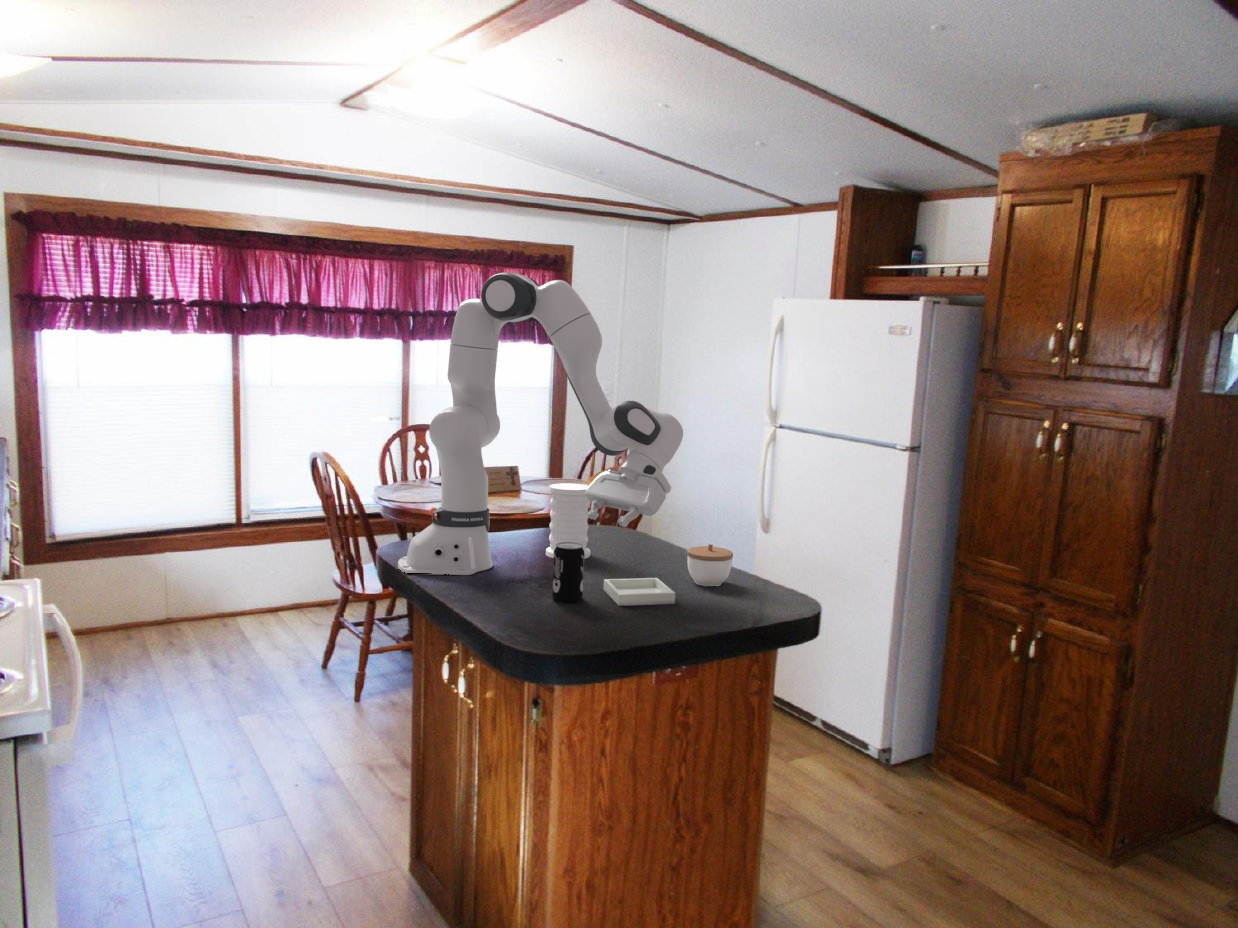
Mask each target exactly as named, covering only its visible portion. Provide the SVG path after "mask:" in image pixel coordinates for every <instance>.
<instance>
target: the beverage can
mask: <svg viewBox="0 0 1238 928" xmlns="http://www.w3.org/2000/svg"><path fill="white" fill-rule="evenodd" d="M582 547H583V545H582V544H580V543H576V542H560V543H557V544H556V548H555V550H554V558H553V560H552V561H553V563H552V565H553V566H552V568H553V570H552V588H551V590H552V592H551V593H552V597H553V598H554V600H555V601H557V602H560V603H566V604H569V603H570V604H571V603H573V604H574V603H578V602H579V601H580V600H581V599H583V595H584V576H585V575H584V574H585V573H584V572H585V559H584V553H585V552H584V550H583V548H582Z"/></svg>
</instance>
